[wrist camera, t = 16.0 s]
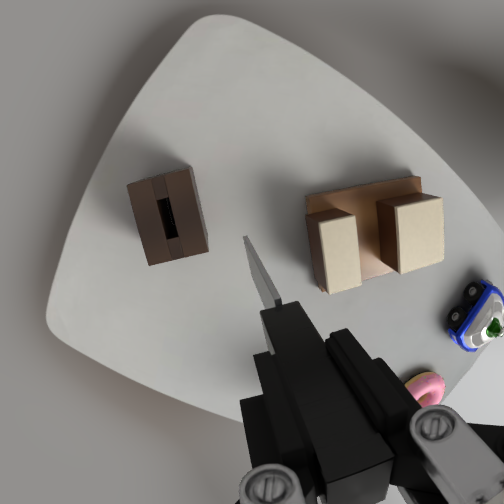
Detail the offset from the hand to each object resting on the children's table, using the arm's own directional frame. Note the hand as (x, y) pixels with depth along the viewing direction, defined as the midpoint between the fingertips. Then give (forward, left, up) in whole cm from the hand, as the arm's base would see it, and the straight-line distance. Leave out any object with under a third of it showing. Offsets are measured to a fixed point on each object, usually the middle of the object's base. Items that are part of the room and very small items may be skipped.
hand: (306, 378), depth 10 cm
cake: (+5, +21, -27) cm, 35 cm away
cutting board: (+5, +17, -29) cm, 34 cm away
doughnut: (+38, +26, -29) cm, 55 cm away
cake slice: (+5, +10, -27) cm, 30 cm away
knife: (0, 0, -13) cm, 13 cm away
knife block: (-3, -6, -29) cm, 30 cm away
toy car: (+24, +37, -29) cm, 53 cm away
